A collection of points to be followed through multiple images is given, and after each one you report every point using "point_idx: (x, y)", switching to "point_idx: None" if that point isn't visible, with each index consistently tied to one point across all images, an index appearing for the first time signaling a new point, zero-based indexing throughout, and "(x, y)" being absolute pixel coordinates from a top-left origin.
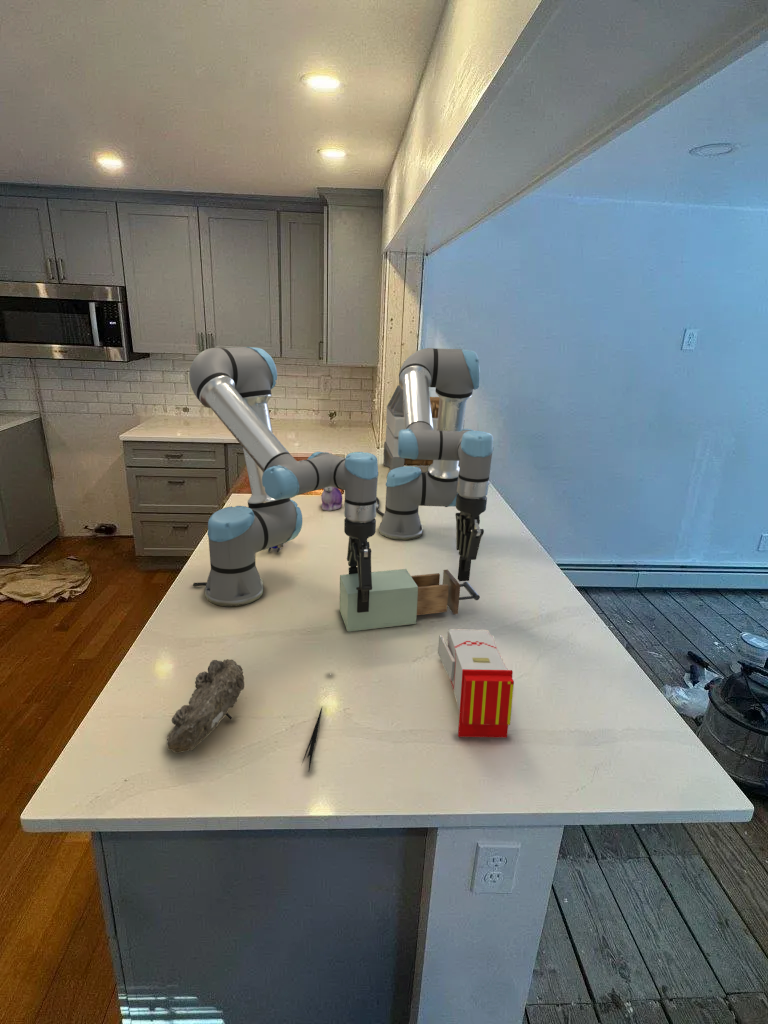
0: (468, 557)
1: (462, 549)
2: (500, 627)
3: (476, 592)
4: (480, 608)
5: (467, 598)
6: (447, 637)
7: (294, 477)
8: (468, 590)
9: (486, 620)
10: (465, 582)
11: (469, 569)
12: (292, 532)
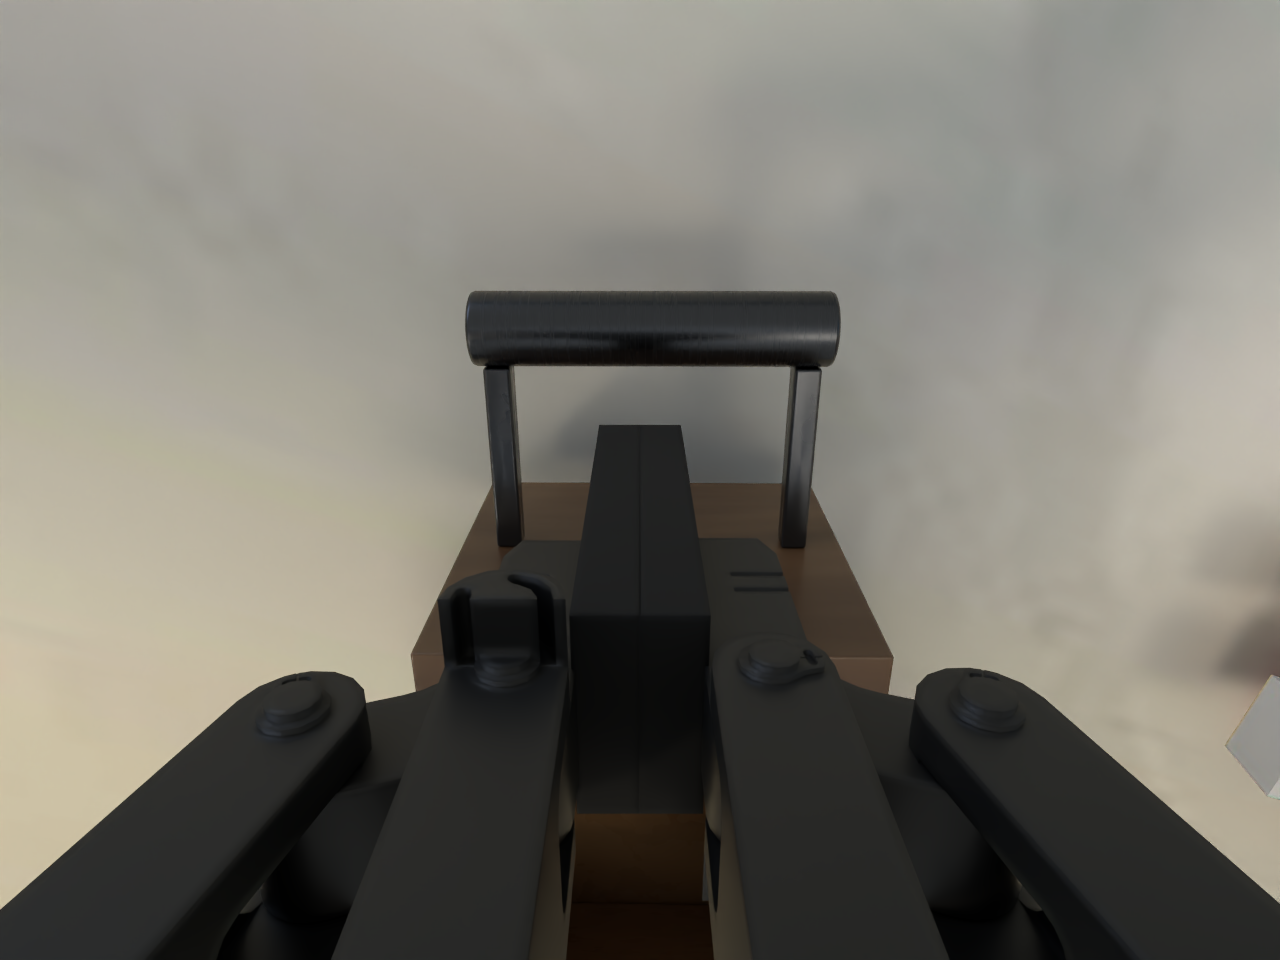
0: (1046, 931)
1: (561, 928)
2: (1045, 127)
3: (762, 311)
4: (662, 172)
5: (812, 440)
6: (1236, 758)
7: None
8: (652, 365)
9: (887, 212)
10: (490, 349)
11: (774, 563)
12: None
